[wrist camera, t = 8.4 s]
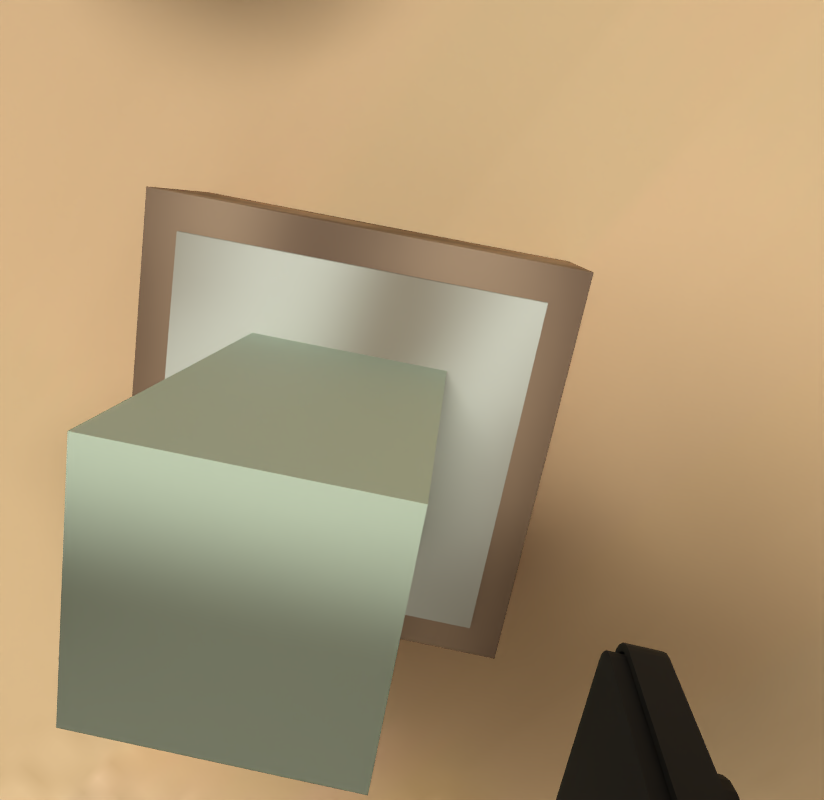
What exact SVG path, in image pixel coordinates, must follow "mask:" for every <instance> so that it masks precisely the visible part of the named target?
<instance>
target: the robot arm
mask: <svg viewBox="0 0 824 800" xmlns="http://www.w3.org/2000/svg"><path fill="white" fill-rule="evenodd" d="M556 800H740V799H739V797H738V794H737V792H736V790H735V789H734V787H733V785H732V784H731V782H730V780H728V779H727V778H726V777H725V776H723V775H721V774H717V772H716V769H715V767H714V765H713V762H712V760H711V757H710V755H709V753H708V750H707V748H706V745H705V743H704V740H703V738H702V736H701V733H700V731H699V728H698V726H697V724H696V721H695V719H694V716H693V714H692V711H691V709H690V707H689V704H688V702H687V699H686V697H685V694H684V692H683V690H682V687H681V685H680V682H679V680H678V678H677V675H676V673H675V670H674V668H673V665H672V663H671V661H670V658H669V657H668V655H667V653H665V652H662V651H658V650H653V649H649V648H644V647H640V646H636V645H631V644H627V643H621V644H620V645H619V646H618V647H617V649H616V651H615V652H611V651H607V650H606V651H604V652H603V653H602V655H601V657H600V660H599V663H598V666H597V669H596V673H595V676H594V679H593V682H592V685H591V689H590V692H589V695H588V698H587V702H586V705H585V708H584V711H583V715H582V718H581V721H580V724H579V727H578V731H577V734H576V737H575V740H574V744H573V747H572V750H571V753H570V757H569V760H568V763H567V766H566V769H565V773H564V776H563V779H562V782H561V786H560V789H559V792H558V795H557V799H556Z"/></svg>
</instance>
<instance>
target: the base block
mask: <svg viewBox="0 0 824 800" xmlns="http://www.w3.org/2000/svg"><path fill="white" fill-rule="evenodd" d="M592 276H593V272H591V271H589V270H587V269H584V268H582V267H580V266H578V265H575V264H573V263H571V262H568V261H563V260H558V259H552V258H547V257H542V256H537V255H532V254H526V253H521V252H516V251H511V250H506V249H500V248H495V247H490V246H485V245H480V244H474V243H469V242H464V241H459V240H453V239H448V238H443V237H438V236H433V235H427V234H422V233H417V232H412V231H407V230H401V229H396V228H391V227H386V226H381V225H375V224H370V223H365V222H360V221H355V220H349V219H344V218H339V217H334V216H329V215H323V214H318V213H313V212H308V211H303V210H297V209H292V208H287V207H282V206H277V205H271V204H266V203H261V202H256V201H251V200H245V199H240V198H235V197H230V196H224V195H219V194H214V193H209V192H199V191H188V190H178V189H167V188H157V187H146V201H145V216H144V231H143V246H142V261H141V276H140V290H139V305H138V320H137V335H136V350H135V365H134V379H133V394H132V397H133V396H134V395H136V394H138V393H140V392H142V391H144V390H146V389H148V388H149V387H151V386H153V385H155V384H157V383H159V382H161V381H163V380H164V379H166V378H168V377H170V376H172V375H174V374H176V373H178V372H179V371H181V370H183V369H185V368H187V367H189V366H191V365H193V364H194V363H196V362H198V361H200V360H202V359H204V358H206V357H208V356H209V355H211V354H213V353H215V352H217V351H219V350H221V349H223V348H224V347H226V346H228V345H230V344H232V343H234V342H236V341H237V340H239V339H241V338H243V337H245V336H247V335H249V334H251V333H256V334H261V335H266V336H271V337H277V338H282V339H287V340H292V341H297V342H302V343H307V344H312V345H317V346H322V347H327V348H332V349H337V350H342V351H348V352H353V353H358V354H363V355H368V356H373V357H378V358H383V359H388V360H393V361H398V362H403V363H408V364H413V365H419V366H424V367H429V368H434V369H439V370H444V371H447V373H446V380H445V387H444V394H443V401H442V408H441V415H440V422H439V429H438V436H437V443H436V450H435V457H434V464H433V471H432V478H431V485H430V492H429V499H428V506H427V511H426V516H425V520H424V525H423V530H422V535H421V540H420V545H419V549H418V554H417V559H416V564H415V569H414V574H413V578H412V583H411V588H410V593H409V598H408V603H407V608H406V612H405V617H404V622H403V627H402V632H401V637H400V639H404V640H409V641H413V642H418V643H423V644H427V645H432V646H437V647H442V648H446V649H451V650H456V651H461V652H465V653H470V654H475V655H480V656H484V657H489V658H495V654H496V650H497V647H498V643H499V639H500V635H501V631H502V627H503V623H504V619H505V615H506V611H507V608H508V604H509V600H510V596H511V592H512V588H513V584H514V580H515V576H516V573H517V569H518V565H519V561H520V557H521V553H522V549H523V545H524V541H525V537H526V534H527V530H528V526H529V522H530V518H531V514H532V510H533V506H534V502H535V499H536V495H537V491H538V487H539V483H540V479H541V475H542V471H543V467H544V463H545V460H546V456H547V452H548V448H549V444H550V440H551V436H552V432H553V428H554V425H555V421H556V417H557V413H558V409H559V405H560V401H561V397H562V393H563V389H564V386H565V382H566V378H567V374H568V370H569V366H570V362H571V358H572V354H573V350H574V347H575V343H576V339H577V335H578V331H579V327H580V323H581V319H582V315H583V312H584V308H585V304H586V300H587V296H588V292H589V288H590V284H591V280H592Z"/></svg>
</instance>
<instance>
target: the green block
mask: <svg viewBox="0 0 824 800" xmlns="http://www.w3.org/2000/svg"><path fill="white" fill-rule="evenodd" d="M446 373H447V371H444V370H439V369H434V368H429V367H424V366H419V365H413V364H408V363H403V362H398V361H393V360H388V359H383V358H378V357H373V356H368V355H363V354H358V353H353V352H348V351H342V350H337V349H332V348H327V347H322V346H317V345H312V344H307V343H302V342H297V341H292V340H287V339H282V338H277V337H271V336H266V335H261V334H256V333H251V334H249V335H247V336H245V337H243V338H241V339H239V340H237V341H236V342H234V343H232V344H230V345H228V346H226V347H224V348H223V349H221V350H219V351H217V352H215V353H213V354H211V355H209V356H208V357H206V358H204V359H202V360H200V361H198V362H196V363H194V364H193V365H191V366H189V367H187V368H185V369H183V370H181V371H179V372H178V373H176V374H174V375H172V376H170V377H168V378H166V379H164V380H163V381H161V382H159V383H157V384H155V385H153V386H151V387H149V388H148V389H146V390H144V391H142V392H140V393H138V394H136V395H134V396H133V397H131V398H129V399H127V400H125V401H123V402H121V403H119V404H118V405H116V406H114V407H112V408H110V409H108V410H106V411H104V412H103V413H101V414H99V415H97V416H95V417H93V418H91V419H89V420H88V421H86V422H84V423H82V424H80V425H78V426H76V427H74V428H73V429H71V430H69V431H68V436H67V462H66V488H65V514H64V540H63V566H62V592H61V618H60V644H59V670H58V696H57V722H56V728H61V729H65V730H70V731H74V732H79V733H84V734H88V735H93V736H97V737H102V738H107V739H111V740H116V741H120V742H125V743H129V744H134V745H139V746H143V747H148V748H152V749H157V750H162V751H166V752H171V753H175V754H180V755H185V756H189V757H194V758H198V759H203V760H208V761H212V762H217V763H221V764H226V765H231V766H235V767H240V768H244V769H249V770H254V771H258V772H263V773H267V774H272V775H277V776H281V777H286V778H290V779H295V780H300V781H304V782H309V783H313V784H318V785H323V786H327V787H332V788H336V789H341V790H346V791H350V792H355V793H359V794H364V795H368V792H369V787H370V782H371V777H372V772H373V767H374V763H375V758H376V753H377V748H378V743H379V738H380V734H381V729H382V724H383V719H384V714H385V709H386V704H387V700H388V695H389V690H390V685H391V680H392V675H393V671H394V666H395V661H396V656H397V651H398V646H399V641H400V637H401V632H402V627H403V622H404V617H405V612H406V608H407V603H408V598H409V593H410V588H411V583H412V578H413V574H414V569H415V564H416V559H417V554H418V549H419V545H420V540H421V535H422V530H423V525H424V520H425V516H426V511H427V506H428V499H429V492H430V485H431V478H432V471H433V464H434V457H435V450H436V443H437V436H438V429H439V422H440V415H441V408H442V401H443V394H444V387H445V380H446Z"/></svg>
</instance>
